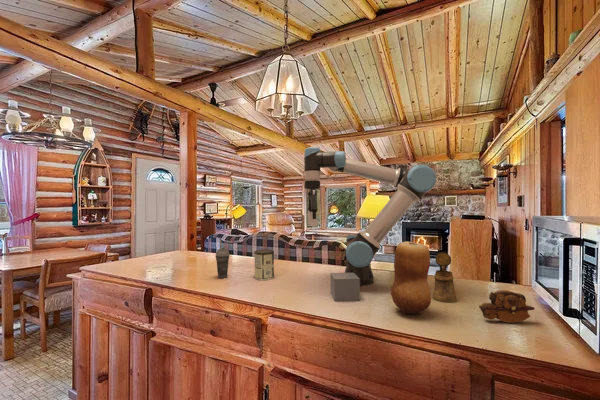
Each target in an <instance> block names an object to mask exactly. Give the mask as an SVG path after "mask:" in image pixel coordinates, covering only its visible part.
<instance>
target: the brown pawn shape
mask: <svg viewBox="0 0 600 400" xmlns="http://www.w3.org/2000/svg"><path fill="white" fill-rule="evenodd" d="M435 263H436V264H437V265H438V266H439V269H437V270H435V273H434V283H433V285H434V286H433V290H432V293H431V298H432V299H434V300H435V301H438V302H441V303H456V302H458V301H457V300H458V299H457V295H456V291H455V285H454V283H455V282H454V275H453V272H452V271H450V270H447V267H448V266H449V265H450V264H451V263H452V257H451V256H450V255H449V253H447V252H446V251H441V252H438V253H437V254H436V255H435Z"/></svg>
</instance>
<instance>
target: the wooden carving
mask: <svg viewBox="0 0 600 400" xmlns="http://www.w3.org/2000/svg"><path fill="white" fill-rule="evenodd" d="M488 299H489V300H490V302H483V303H482V304H480V305H478V308H479V309H480V312H481V313H482V317H483V318H485V319H487V320H489V321H491V320H495V319H497V320H499V321H501V322H504V323H508V324H509V323H510V324H511V323H512V324H513V323H514V324H515V323H520V322H524V321H525V320H527V319H529V318H530V317H531V314H530V313H529V311H535V309H536V307H534V306H530V305H528V304H527V303H526V302H527V299H526V297H525V295H524V294H521V293H520V292H518V293H517V292H515V291H510V290H507V289H502V290H501V289H499V290H497V291H494V292H493V291H490V293H489V295H488Z"/></svg>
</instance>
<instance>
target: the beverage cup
mask: <svg viewBox="0 0 600 400" xmlns="http://www.w3.org/2000/svg"><path fill="white" fill-rule="evenodd" d="M219 243H220V248H219V249H218V250H217V251H216V253H215V260H216V269H217V278H219V280H225V279H227V278H228V272H229V271H228V270H229V260H230V256H231V255H230V252H229V250H228V249H227V248H224V247H222V239H219ZM224 278H225V279H224Z"/></svg>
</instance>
